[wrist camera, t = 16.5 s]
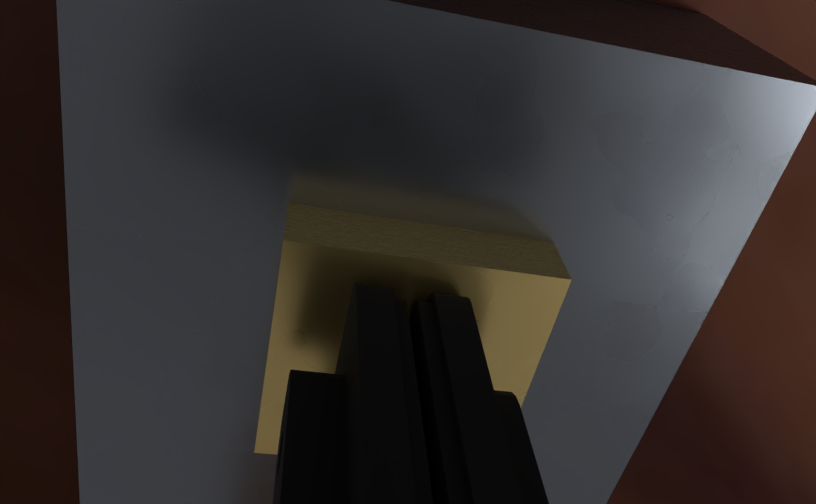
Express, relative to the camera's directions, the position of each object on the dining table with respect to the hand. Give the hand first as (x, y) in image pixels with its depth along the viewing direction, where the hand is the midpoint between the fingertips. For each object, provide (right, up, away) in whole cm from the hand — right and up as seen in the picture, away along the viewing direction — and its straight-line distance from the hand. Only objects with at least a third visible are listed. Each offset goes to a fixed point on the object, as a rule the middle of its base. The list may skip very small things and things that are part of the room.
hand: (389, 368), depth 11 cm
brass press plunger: (0, +2, +4) cm, 5 cm away
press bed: (-1, -2, +7) cm, 8 cm away
